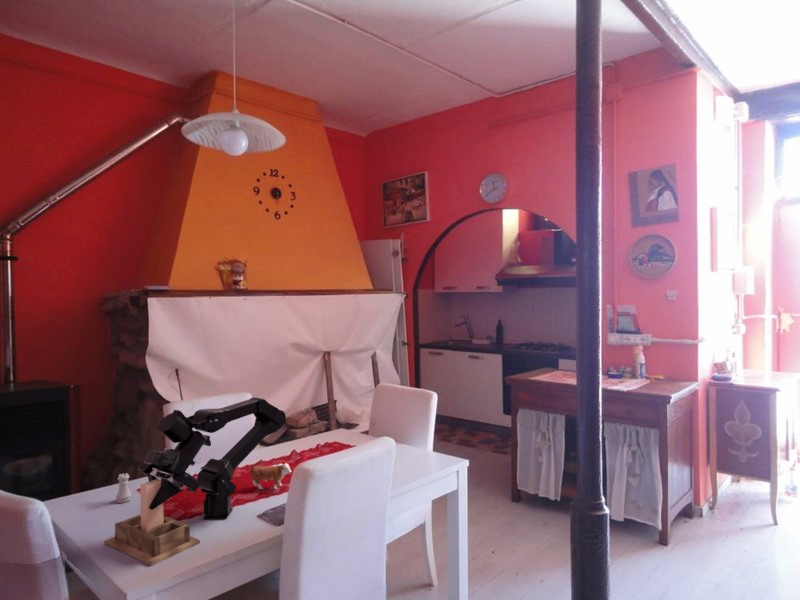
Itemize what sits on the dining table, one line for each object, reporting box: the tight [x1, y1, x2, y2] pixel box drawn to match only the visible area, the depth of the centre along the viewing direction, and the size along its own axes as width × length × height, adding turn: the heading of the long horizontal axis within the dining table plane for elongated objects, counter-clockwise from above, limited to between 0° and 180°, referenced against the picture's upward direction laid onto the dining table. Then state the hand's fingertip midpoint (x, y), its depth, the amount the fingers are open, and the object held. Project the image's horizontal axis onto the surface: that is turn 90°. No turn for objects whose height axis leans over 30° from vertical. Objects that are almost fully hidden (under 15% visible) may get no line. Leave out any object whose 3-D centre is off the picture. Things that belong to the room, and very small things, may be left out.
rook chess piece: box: [115, 472, 133, 504], centre depth 159 cm, size 4×4×8 cm
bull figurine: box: [249, 462, 292, 490], centre depth 169 cm, size 4×13×8 cm, turn 89°
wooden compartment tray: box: [104, 513, 201, 567], centre depth 132 cm, size 13×20×5 cm, turn 58°
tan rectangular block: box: [139, 479, 164, 531], centre depth 132 cm, size 4×2×12 cm, turn 148°
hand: (147, 507), depth 130 cm, fingers closed on tan rectangular block, 2 cm apart
